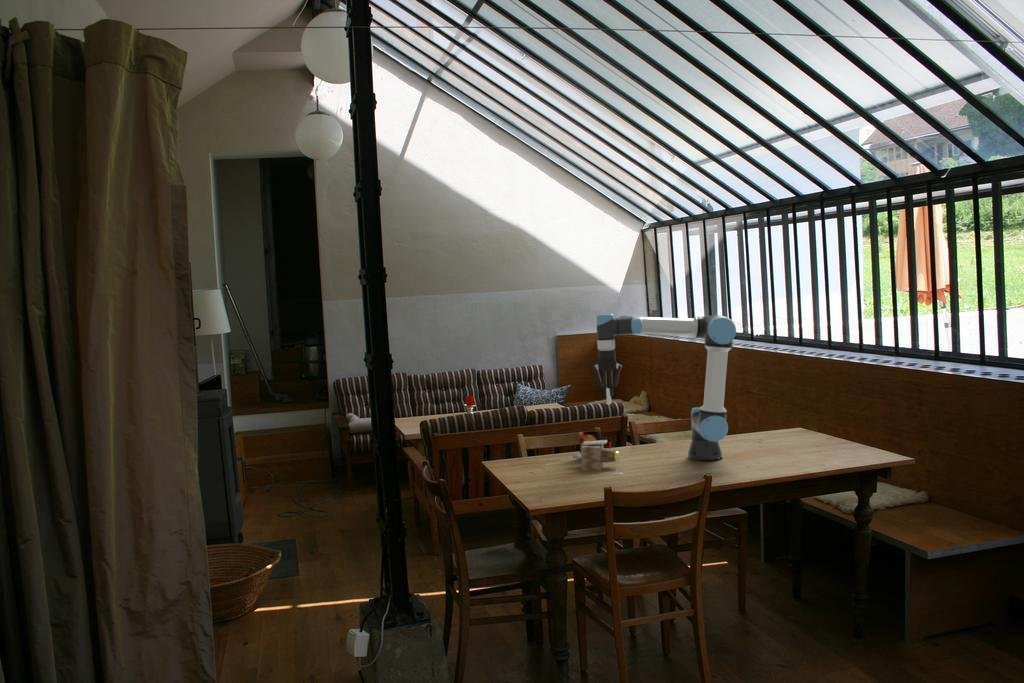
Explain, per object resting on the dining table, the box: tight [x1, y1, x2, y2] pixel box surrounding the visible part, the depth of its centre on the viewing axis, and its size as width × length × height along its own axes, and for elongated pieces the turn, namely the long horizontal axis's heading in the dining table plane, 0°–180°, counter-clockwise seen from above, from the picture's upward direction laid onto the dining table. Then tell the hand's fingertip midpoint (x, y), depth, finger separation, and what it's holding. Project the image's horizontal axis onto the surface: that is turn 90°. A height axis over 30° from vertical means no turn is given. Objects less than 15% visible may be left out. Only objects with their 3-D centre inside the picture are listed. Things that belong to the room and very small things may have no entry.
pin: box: [572, 450, 620, 463], centre depth 366 cm, size 20×5×5 cm, turn 75°
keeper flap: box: [583, 440, 608, 445], centre depth 365 cm, size 10×4×1 cm, turn 75°
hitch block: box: [580, 441, 615, 472], centre depth 365 cm, size 14×12×11 cm
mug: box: [578, 430, 612, 461], centre depth 384 cm, size 10×14×12 cm
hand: (609, 403), depth 365 cm, fingers closed
